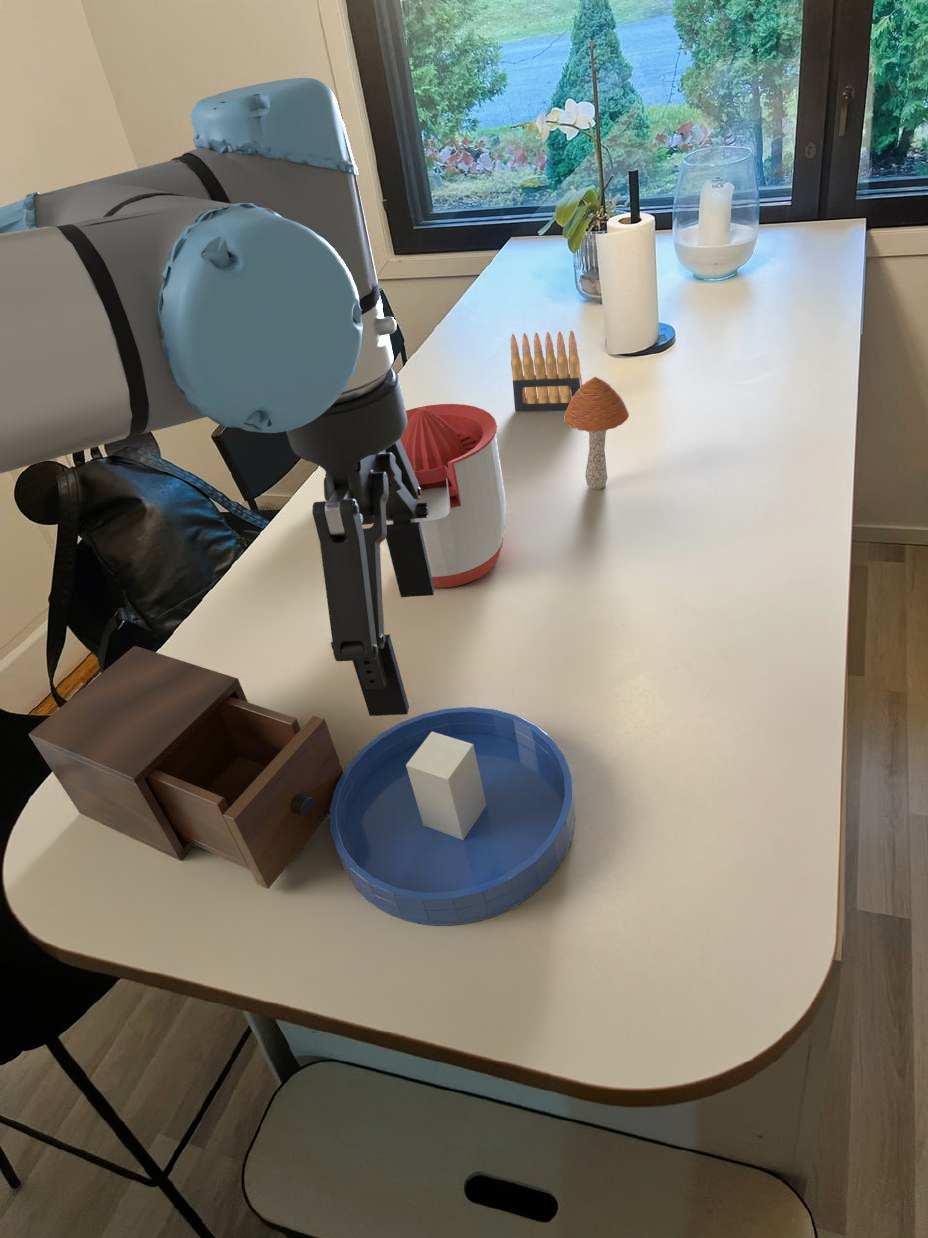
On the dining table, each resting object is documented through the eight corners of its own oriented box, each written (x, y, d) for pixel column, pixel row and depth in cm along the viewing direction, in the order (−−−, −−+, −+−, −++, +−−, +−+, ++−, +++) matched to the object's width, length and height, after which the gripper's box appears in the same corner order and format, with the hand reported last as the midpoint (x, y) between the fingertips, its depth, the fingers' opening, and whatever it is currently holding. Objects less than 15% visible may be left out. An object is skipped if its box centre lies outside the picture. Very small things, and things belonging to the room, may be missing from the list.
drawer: (360, 792, 77) (336, 722, 72) (279, 895, 70) (245, 824, 65) (246, 750, 84) (216, 683, 78) (161, 840, 76) (122, 772, 71)
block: (463, 840, 72) (448, 779, 67) (422, 825, 74) (405, 765, 69) (486, 805, 74) (473, 744, 70) (447, 791, 76) (431, 731, 72)
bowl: (505, 966, 63) (498, 939, 61) (292, 872, 73) (280, 845, 70) (612, 770, 76) (610, 742, 74) (420, 712, 85) (413, 685, 83)
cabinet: (272, 760, 83) (238, 678, 77) (180, 861, 75) (133, 779, 69) (174, 723, 90) (134, 645, 84) (79, 813, 82) (27, 734, 76)
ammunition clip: (585, 404, 134) (579, 327, 127) (583, 409, 133) (576, 332, 125) (517, 406, 137) (508, 331, 130) (514, 411, 136) (505, 336, 129)
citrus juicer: (383, 618, 99) (340, 460, 87) (391, 536, 112) (356, 390, 100) (520, 600, 97) (496, 437, 85) (512, 519, 111) (490, 369, 99)
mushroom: (644, 485, 112) (641, 375, 103) (594, 508, 110) (586, 397, 101) (606, 464, 118) (600, 358, 109) (558, 486, 116) (547, 378, 107)
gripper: (353, 476, 42) (431, 772, 55) (424, 302, 62) (470, 551, 74) (209, 489, 44) (318, 775, 56) (323, 315, 63) (385, 557, 76)
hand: (404, 648), depth 65 cm, fingers open, 13 cm apart
